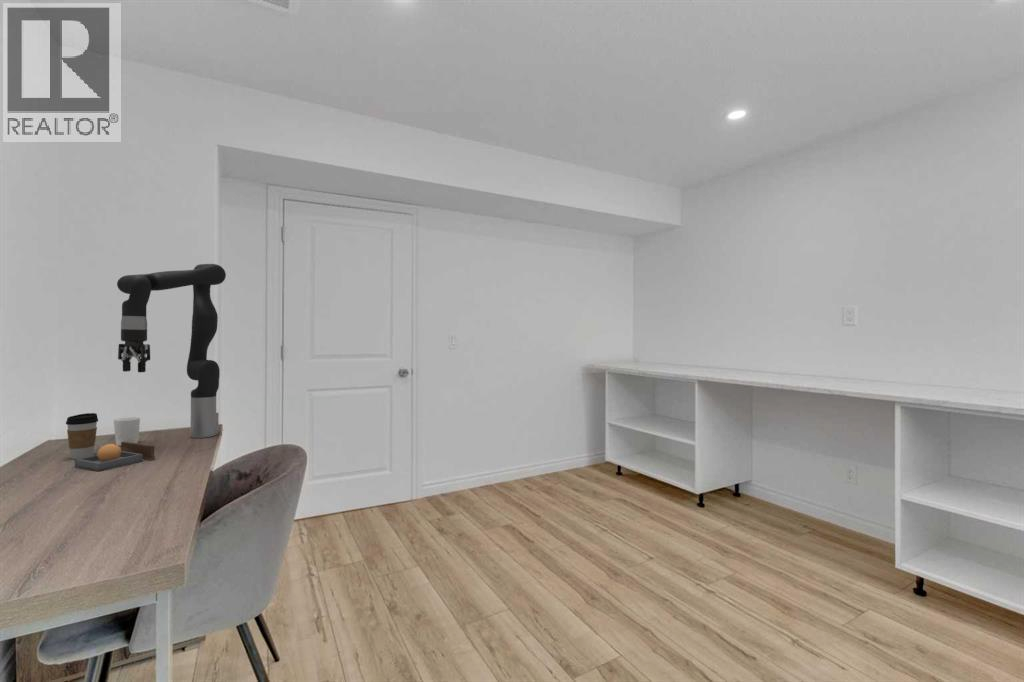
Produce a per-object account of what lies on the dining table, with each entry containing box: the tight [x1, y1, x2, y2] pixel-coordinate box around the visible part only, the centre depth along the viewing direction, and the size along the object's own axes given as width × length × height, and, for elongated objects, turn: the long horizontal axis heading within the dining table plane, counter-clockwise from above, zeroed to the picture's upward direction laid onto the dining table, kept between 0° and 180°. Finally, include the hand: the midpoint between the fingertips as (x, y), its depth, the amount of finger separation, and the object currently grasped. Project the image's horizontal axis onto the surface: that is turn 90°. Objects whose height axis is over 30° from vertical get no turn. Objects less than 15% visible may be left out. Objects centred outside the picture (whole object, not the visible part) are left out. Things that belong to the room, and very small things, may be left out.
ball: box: [96, 443, 121, 462], centre depth 151 cm, size 6×6×6 cm
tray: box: [74, 451, 143, 472], centre depth 151 cm, size 13×13×2 cm
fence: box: [120, 441, 156, 461], centre depth 159 cm, size 1×16×5 cm, turn 71°
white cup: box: [113, 416, 141, 447], centre depth 178 cm, size 8×8×10 cm
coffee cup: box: [65, 412, 99, 460], centre depth 159 cm, size 8×8×15 cm
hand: (134, 371), depth 166 cm, fingers open, 8 cm apart
